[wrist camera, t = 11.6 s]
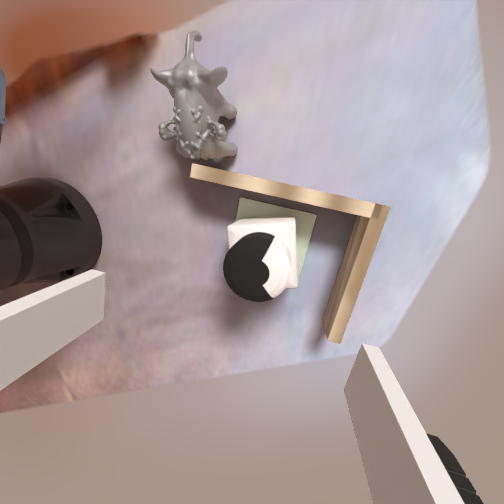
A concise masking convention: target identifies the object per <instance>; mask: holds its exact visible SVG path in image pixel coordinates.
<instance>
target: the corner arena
mask: <svg viewBox="0 0 504 504" xmlns="http://www.w3.org/2000/svg"><path fill="white" fill-rule="evenodd" d="M190 177H191V178H196V179H200V180H205V181H209V182H214V183H218V184H222V185H227V186H231V187H236V188H240V189H245V190H249V191H253V192H258V193H262V194H267V195H271V196H276V197H280V198H284V199H289V200H293V201H298V202H302V203H307V204H311V205H315V206H320V207H324V208H329V209H333V210H337V211H342V212H346V213H351V214H355V215H357V218H356V221H355V224H354V227H353V230H352V233H351V236H350V239H349V242H348V245H347V248H346V251H345V254H344V257H343V260H342V263H341V266H340V269H339V272H338V275H337V278H336V281H335V284H334V287H333V290H332V293H331V296H330V299H329V302H328V305H327V308H326V311H325V314H324V317H323V322H324V326H325V331H326V335H327V340H328V341H331V342H335V343H339V344H340V343H341V340H342V338H343V335H344V332H345V329H346V327H347V324H348V321H349V319H350V316H351V313H352V310H353V308H354V305H355V302H356V299H357V297H358V294H359V291H360V289H361V286H362V283H363V280H364V278H365V275H366V272H367V269H368V267H369V264H370V261H371V259H372V256H373V253H374V250H375V248H376V245H377V242H378V239H379V237H380V234H381V231H382V229H383V226H384V223H385V220H386V218H387V215H388V212H389V209H390V207H389V206H385V205H380V204H376V203H371V202H367V201H362V200H357V199H353V198H348V197H344V196H339V195H335V194H330V193H326V192H321V191H316V190H312V189H307V188H303V187H298V186H294V185H289V184H285V183H280V182H275V181H271V180H266V179H262V178H257V177H253V176H248V175H244V174H239V173H234V172H230V171H225V170H221V169H216V168H212V167H207V166H203V165H198V164H193V163H192V167H191V175H190Z"/></svg>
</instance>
